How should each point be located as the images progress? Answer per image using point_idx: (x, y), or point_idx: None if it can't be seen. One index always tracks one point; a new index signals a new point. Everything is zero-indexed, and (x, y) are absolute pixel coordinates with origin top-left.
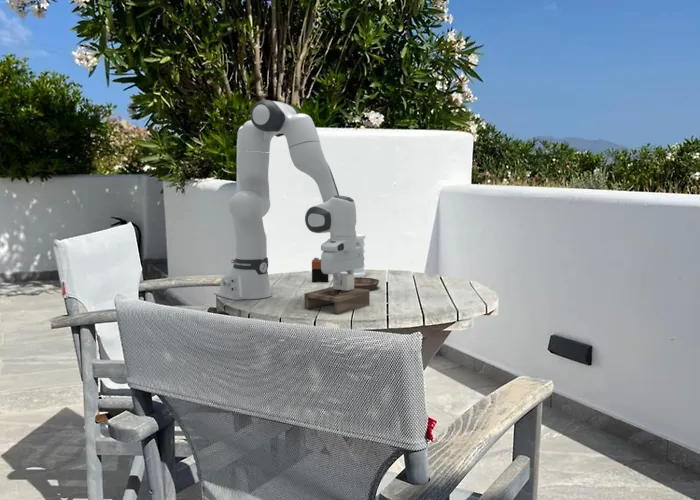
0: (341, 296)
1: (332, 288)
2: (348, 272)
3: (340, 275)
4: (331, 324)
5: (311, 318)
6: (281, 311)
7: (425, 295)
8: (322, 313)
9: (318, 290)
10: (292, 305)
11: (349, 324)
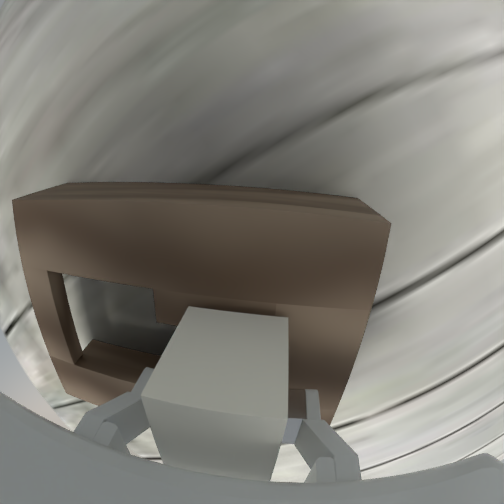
0: (96, 397)
1: (249, 260)
2: (312, 469)
3: (159, 447)
4: (32, 368)
5: (17, 298)
6: (8, 139)
7: (498, 415)
8: (67, 298)
9: (112, 209)
10: (94, 74)
11: (62, 402)
